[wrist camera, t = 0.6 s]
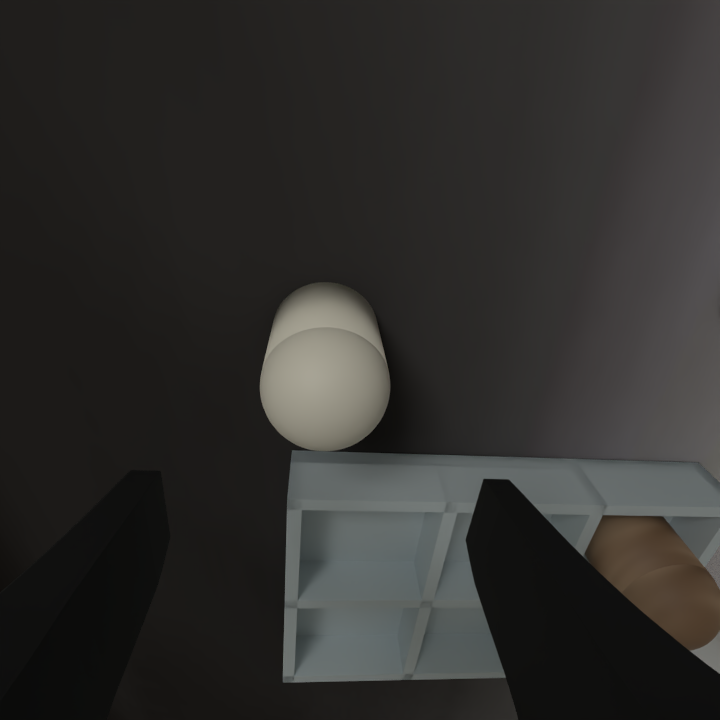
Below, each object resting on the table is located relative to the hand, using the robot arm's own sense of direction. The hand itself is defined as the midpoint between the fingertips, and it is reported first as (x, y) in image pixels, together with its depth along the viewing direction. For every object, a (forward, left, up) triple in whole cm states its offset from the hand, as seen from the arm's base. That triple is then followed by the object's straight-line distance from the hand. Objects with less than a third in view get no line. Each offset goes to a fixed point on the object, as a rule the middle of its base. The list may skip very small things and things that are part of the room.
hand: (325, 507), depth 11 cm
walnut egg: (-16, +10, -8) cm, 20 cm away
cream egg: (0, 0, -9) cm, 9 cm away
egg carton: (-9, +13, -9) cm, 18 cm away
